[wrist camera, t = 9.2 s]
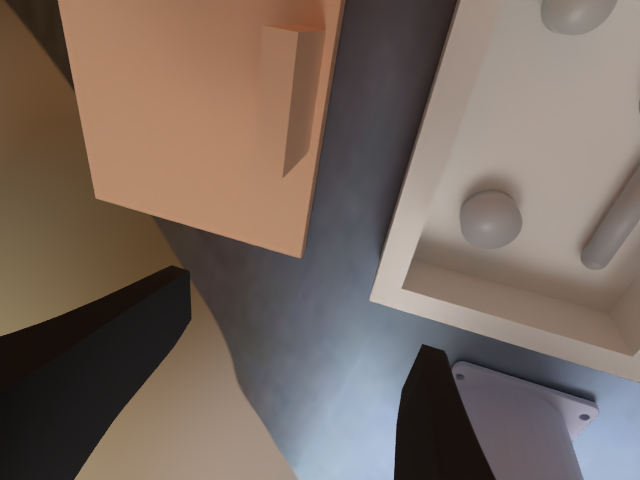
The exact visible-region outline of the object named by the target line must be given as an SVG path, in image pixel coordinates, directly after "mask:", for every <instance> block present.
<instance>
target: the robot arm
mask: <svg viewBox="0 0 640 480" xmlns="http://www.w3.org/2000/svg"><path fill="white" fill-rule="evenodd" d="M190 321H191V296H190V272H189V271H188V270H185V269H181V268H178V267H175V266H169V267H167V268H165V269H162V270H160V271H158V272H156V273H154V274H152V275H150V276H147V277H145V278H143V279H141V280H139V281H137V282H135V283H133V284H131V285H129V286H126V287H124V288H122V289H120V290H118V291H116V292H113V293H111V294H109V295H107V296H105V297H103V298H101V299H98V300H96V301H93V302H91V303H89V304H87V305H84V306H82V307H79V308H77V309H74V310H72V311H70V312H67V313H65V314H63V315H60V316H58V317H55V318H52V319H50V320H47V321H44V322H42V323H39V324H36V325H33V326H30V327H27V328H24V329H22V330H19V331H16V332H13V333H10V334H7V335H3V336H0V480H74V479H75V477H76V476H77V474H78V473H79V471H80V470H81V468H82V466H83V465H84V464H85V462H86V461H87V459H88V457H89V456H90V454H91V453H92V451H93V450H94V448H95V447H96V446H97V444H98V443H99V441H100V439H101V438H102V437H103V435H104V434H105V432H106V431H107V430H108V428H109V427H110V425H111V424H112V422H113V421H114V420H115V418H116V417H117V416H118V414H119V413H120V412H121V411H122V409H123V408H124V407H125V405H126V404H127V403H128V402H129V401H130V399H131V398H132V397H133V396H134V395H135V393H136V392H137V391H138V390H139V389H140V388H141V386H142V385H143V384H144V383H145V381H146V380H147V379H148V378H149V376H150V375H151V374H152V373H153V372H154V370H155V369H156V368H157V367H158V366H159V364H160V363H161V362H162V361H163V360H164V358H165V357H166V356H167V355H168V353H169V352H170V351H171V350H172V348H173V347H174V346H175V344H176V343H177V341H178V340H179V338H180V337H181V335H182V334H183V332H184V330H185V329H186V327H187V325H188V324H189V322H190ZM457 374H462V375H457ZM598 414H599V408H598V406H597V405H596V403H594V402H592V401H588V400H585V399H582V398H579V397H576V396H573V395H569V394H566V393H563V392H560V391H557V390H554V389H550V388H547V387H544V386H541V385H538V384H535V383H531V382H528V381H525V380H522V379H519V378H516V377H512V376H509V375H506V374H503V373H500V372H497V371H493V370H490V369H487V368H484V367H481V366H478V365H474V364H471V363H468V362H464V361H459V362H457V363H455V365H454V366H453V368H452V370H451V367H450V364H449V361H448V358H447V355H446V353H445V351H443V350H440V349H436V348H433V347H430V346H427V345H424V344H422V346H421V348H420V350H419V353H418V355H417V357H416V359H415V362H414V364H413V366H412V368H411V371H410V373H409V375H408V377H407V380H406V382H405V384H404V386H403V389H402V393H401V399H400V406H399V412H398V419H397V427H396V446H395V468H394V480H584V479H583V476H582V473H581V470H580V467H579V464H578V460H577V457H576V454H575V451H574V448H573V445H572V441H573V440H574V439H575V438H576V437H577V436H578V435H579V434H580V433H581V432H582V431H583V430H584V429H585V428H586V427H587V426H588V425H589V424H590V423H591V422H592V421H593V420H594V418H595V417H596V416H597V415H598Z"/></svg>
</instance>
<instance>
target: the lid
mask: <svg viewBox="0 0 640 480" xmlns="http://www.w3.org/2000/svg"><path fill="white" fill-rule="evenodd" d="M345 2H346V0H58V3H59V8H60V13H61V19H62V24H63V29H64V34H65V40H66V45H67V50H68V55H69V61H70V66H71V71H72V76H73V82H74V87H75V92H76V97H77V102H78V108H79V113H80V118H81V123H82V129H83V134H84V139H85V145H86V150H87V155H88V160H89V166H90V171H91V176H92V181H93V187H94V192H95V197H96V198H97V199H100V200H104V201H107V202H110V203H114V204H117V205H121V206H124V207H127V208H131V209H134V210H138V211H141V212H144V213H148V214H151V215H154V216H158V217H161V218H165V219H168V220H171V221H175V222H178V223H182V224H185V225H188V226H192V227H195V228H199V229H202V230H205V231H209V232H212V233H216V234H219V235H222V236H226V237H229V238H232V239H236V240H239V241H243V242H246V243H249V244H253V245H256V246H260V247H263V248H266V249H270V250H273V251H277V252H280V253H283V254H287V255H290V256H294V257H297V258H300V259H301V257H302V255H303V253H304V252H305V247H306V241H307V235H308V229H309V223H310V216H311V210H312V204H313V198H314V192H315V186H316V180H317V173H318V167H319V161H320V155H321V149H322V143H323V137H324V131H325V124H326V118H327V112H328V106H329V100H330V94H331V88H332V81H333V75H334V69H335V63H336V57H337V51H338V45H339V39H340V32H341V26H342V20H343V14H344V8H345Z"/></svg>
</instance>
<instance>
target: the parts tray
mask: <svg viewBox="0 0 640 480" xmlns="http://www.w3.org/2000/svg"><path fill="white" fill-rule="evenodd" d="M369 301H372V302H375V303H378V304H382V305H385V306H388V307H391V308H395V309H398V310H401V311H405V312H408V313H411V314H415V315H418V316H421V317H424V318H428V319H431V320H434V321H438V322H441V323H444V324H448V325H451V326H454V327H457V328H461V329H464V330H467V331H471V332H474V333H477V334H480V335H484V336H487V337H490V338H494V339H497V340H500V341H504V342H507V343H510V344H513V345H517V346H520V347H523V348H527V349H530V350H533V351H536V352H540V353H543V354H546V355H550V356H553V357H556V358H560V359H563V360H566V361H569V362H573V363H576V364H579V365H583V366H586V367H589V368H593V369H596V370H599V371H602V372H606V373H609V374H612V375H616V376H619V377H622V378H625V379H629V380H632V381H635V382H639V383H640V0H457V3H456V6H455V10H454V13H453V16H452V20H451V23H450V26H449V30H448V33H447V36H446V40H445V43H444V46H443V50H442V53H441V56H440V60H439V63H438V66H437V70H436V73H435V76H434V80H433V83H432V86H431V90H430V93H429V96H428V100H427V103H426V106H425V109H424V113H423V116H422V119H421V123H420V126H419V129H418V133H417V136H416V139H415V143H414V146H413V149H412V153H411V156H410V159H409V163H408V166H407V169H406V173H405V176H404V179H403V183H402V186H401V189H400V193H399V196H398V199H397V203H396V206H395V209H394V212H393V216H392V219H391V222H390V226H389V229H388V232H387V236H386V239H385V242H384V246H383V249H382V252H381V256H380V259H379V263H378V267H377V271H376V275H375V279H374V283H373V287H372V291H371V295H370V299H369Z"/></svg>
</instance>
